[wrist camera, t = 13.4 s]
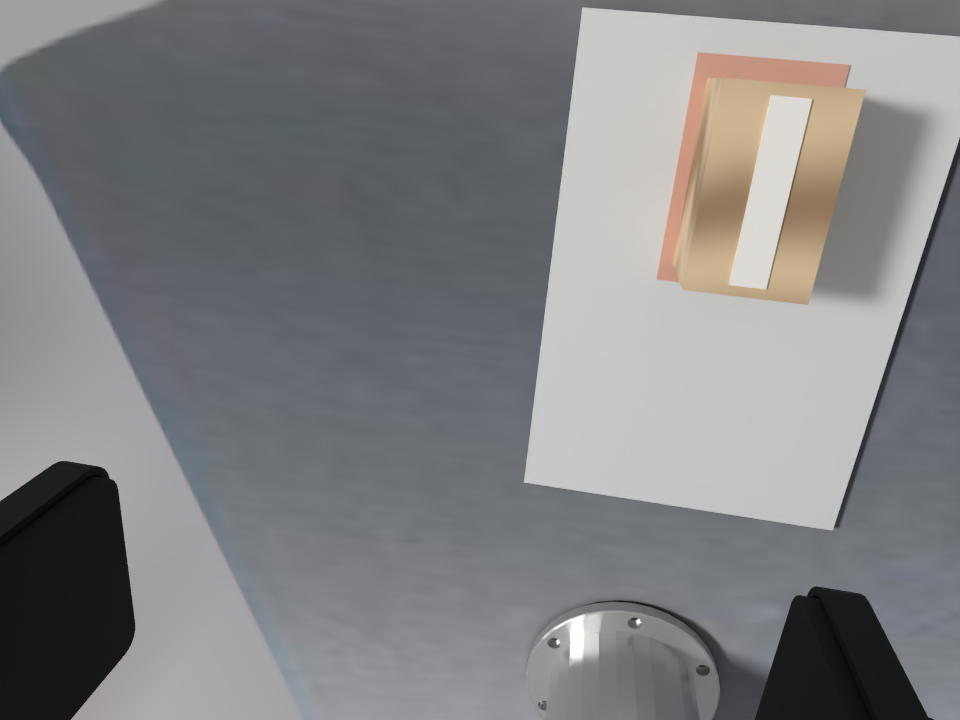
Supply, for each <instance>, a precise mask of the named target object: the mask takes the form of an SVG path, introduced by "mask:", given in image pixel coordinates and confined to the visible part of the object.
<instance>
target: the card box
mask: <svg viewBox="0 0 960 720" xmlns="http://www.w3.org/2000/svg"><path fill="white" fill-rule="evenodd" d="M865 91H866V90H862V89H850V88H838V87H827V86H815V85H803V84H792V83H780V82H768V81H756V80H745V79H733V78H708V79H707V84H706V89H705V95H704V100H703V105H702V111H701V116H700V121H699V127H698V132H697V137H696V142H695V148H694V153H693V158H692V164H691V169H690V174H689V180H688V185H687V190H686V196H685V201H684V206H683V212H682V217H681V222H680V228H679V233H678V238H677V243H676V249H675V254H674V259H673V266H674V269H675V271H676V274H677V276H678V279H679V282H680V284H681V287H682V289H683V290H688V291H696V292H704V293H712V294H721V295H729V296H737V297H746V298H754V299H762V300H771V301H779V302H787V303H796V304H804V305H808V304H809V300H810V296H811V293H812V289H813V285H814V281H815V278H816V274H817V270H818V266H819V263H820V259H821V255H822V252H823V248H824V244H825V240H826V237H827V233H828V229H829V225H830V222H831V218H832V214H833V210H834V207H835V203H836V199H837V196H838V192H839V188H840V184H841V181H842V177H843V173H844V169H845V166H846V162H847V158H848V154H849V151H850V147H851V143H852V140H853V136H854V132H855V128H856V125H857V121H858V117H859V113H860V110H861V106H862V102H863V98H864V95H865Z"/></svg>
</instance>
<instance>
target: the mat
mask: <svg viewBox="0 0 960 720" xmlns="http://www.w3.org/2000/svg"><path fill="white" fill-rule="evenodd" d="M708 78H733V79H745V80H756V81H768V82H780V83H792V84H803V85H815V86H827V87H838V88H850V89H862V90H866V91H865V95H864V98H863V102H862V106H861V110H860V113H859V117H858V121H857V125H856V128H855V132H854V136H853V140H852V143H851V147H850V151H849V154H848V158H847V162H846V166H845V169H844V173H843V177H842V181H841V184H840V188H839V192H838V196H837V199H836V203H835V207H834V210H833V214H832V218H831V222H830V225H829V229H828V233H827V237H826V240H825V244H824V248H823V252H822V255H821V259H820V263H819V266H818V270H817V274H816V278H815V281H814V285H813V289H812V293H811V296H810V300H809V304H808V305H804V304H796V303H787V302H779V301H771V300H762V299H754V298H746V297H737V296H729V295H721V294H712V293H704V292H696V291H688V290H683V289H682V287H681V284H680V282H679V279H678V276H677V274H676V271H675V269H674V266H673V259H674V254H675V249H676V243H677V238H678V233H679V228H680V222H681V217H682V212H683V206H684V201H685V196H686V190H687V185H688V180H689V174H690V169H691V164H692V158H693V153H694V148H695V142H696V137H697V132H698V127H699V121H700V116H701V111H702V105H703V100H704V95H705V89H706V84H707V79H708ZM959 138H960V37H957V36H944V35H931V34H918V33H905V32H892V31H879V30H866V29H853V28H840V27H827V26H814V25H802V24H789V23H776V22H763V21H750V20H737V19H724V18H711V17H698V16H685V15H672V14H659V13H646V12H633V11H620V10H607V9H594V8H582V16H581V24H580V32H579V41H578V49H577V57H576V65H575V73H574V81H573V89H572V97H571V106H570V114H569V122H568V130H567V138H566V146H565V154H564V163H563V171H562V179H561V187H560V195H559V203H558V211H557V219H556V228H555V236H554V244H553V252H552V260H551V268H550V276H549V284H548V293H547V301H546V309H545V317H544V325H543V333H542V341H541V350H540V358H539V366H538V374H537V382H536V390H535V398H534V406H533V415H532V423H531V431H530V439H529V447H528V455H527V463H526V472H525V480H524V482H525V483H532V484H538V485H544V486H551V487H557V488H564V489H570V490H576V491H583V492H589V493H596V494H602V495H608V496H615V497H621V498H628V499H634V500H640V501H647V502H653V503H660V504H666V505H672V506H679V507H685V508H692V509H698V510H704V511H711V512H717V513H724V514H730V515H736V516H743V517H749V518H756V519H762V520H768V521H775V522H781V523H788V524H794V525H800V526H807V527H813V528H820V529H826V530H832V531H833V528H834V525H835V522H836V519H837V516H838V513H839V510H840V506H841V503H842V500H843V497H844V494H845V491H846V488H847V485H848V482H849V479H850V476H851V472H852V469H853V466H854V463H855V460H856V457H857V454H858V451H859V448H860V445H861V442H862V438H863V435H864V432H865V429H866V426H867V423H868V420H869V417H870V414H871V411H872V408H873V404H874V401H875V398H876V395H877V392H878V389H879V386H880V383H881V380H882V377H883V374H884V370H885V367H886V364H887V361H888V358H889V355H890V352H891V349H892V346H893V343H894V339H895V336H896V333H897V330H898V327H899V324H900V321H901V318H902V315H903V312H904V309H905V305H906V302H907V299H908V296H909V293H910V290H911V287H912V284H913V281H914V278H915V275H916V271H917V268H918V265H919V262H920V259H921V256H922V253H923V250H924V247H925V244H926V241H927V237H928V234H929V231H930V228H931V225H932V222H933V219H934V216H935V213H936V210H937V206H938V203H939V200H940V197H941V194H942V191H943V188H944V185H945V182H946V179H947V176H948V172H949V169H950V166H951V163H952V160H953V157H954V154H955V151H956V148H957V145H958V142H959Z"/></svg>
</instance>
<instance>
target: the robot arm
mask: <svg viewBox="0 0 960 720" xmlns="http://www.w3.org/2000/svg"><path fill="white" fill-rule="evenodd" d="M134 633H135V619H134V612H133V604H132V596H131V588H130V580H129V572H128V564H127V556H126V548H125V541H124V533H123V525H122V517H121V509H120V502H119V493H118V488H117V484H116V483H115V481H113V480H111V479H109V476H108V473H107V472H106V470H105V469H103V468H101V467H98V466H92V465H86V464H80V463H74V462H68V461H60V462H57V463H55V464H53V465H52V466H50V467H49V468H48V469H46V470H44V471H43V472H42V473H40V474H39V475H37V476H36V477H34V478H33V479H32V480H30V481H29V482H27V483H26V484H24V485H23V486H21V487H20V488H19V489H17V490H16V491H14V492H13V493H11V494H10V495H9V496H7V497H6V498H4V499H3V500H1V501H0V720H71V719H72V717H73V716H74V715H75V714H76V713H77V711H78V710H79V709H80V708H81V707H82V705H83V704H84V703H85V702H86V701H87V699H88V698H89V697H90V696H91V695H92V693H93V692H94V691H95V690H96V688H97V687H98V686H99V685H100V684H101V682H102V681H103V680H104V679H105V678H106V676H107V675H108V674H109V673H110V672H111V671H112V669H113V668H114V667H115V666H116V664H117V663H118V662H119V661H120V660H121V658H122V657H123V656H124V655H125V653H126V652H127V650H128V649H129V647H130V645H131V643H132V640H133V637H134ZM526 683H527V691H528V694H529V697H530V699H531V702H532V704H533V706H534V708H535V709H536V711H537V713H538V714H539V716H540V717H541V718H542V719H543V720H712V719H713V717H714V715H715V712H716V710H717V708H718V705H719V698H720V684H719V676H718V672H717V668H716V664H715V660H714V658H713V656H712V654H711V652H710V650H709V648H708V647H707V645H706V644H705V643H704V642H703V641H702V639H701V638H700V637H699V636H698V634H697V633H695V632H694V631H693V630H692V629H691V628H689V627H688V626H687V625H686V624H685V623H683V622H681V621H680V620H678V619H676V618H675V617H673V616H671V615H669V614H667V613H665V612H662V611H660V610H657V609H654V608H652V607H648V606H643V605H639V604H634V603H624V602H605V603H594V604H590V605H586V606H582V607H579V608H575V609H573V610H571V611H569V612H567V613H565V614H562V615H560V616H559V617H558V618H556V619H555V620H553V621H552V622H551V623H549V624H548V625H547V626H546V627H545V628H544V629H543V630H542V631H541V633H540V634H539V635H538V636H537V638H536V640H535V642H534V643H533V645H532V647H531V650H530V654H529V657H528V661H527V671H526ZM755 720H933V719H932V718H928V716H927V714H926V712H925V710H924V708H923V707H922V705H921V703H920V701H919V699H918V697H917V695H916V693H915V691H914V689H913V687H912V685H911V683H910V681H909V679H908V677H907V675H906V673H905V671H904V669H903V667H902V666H901V664H900V662H899V660H898V658H897V656H896V654H895V652H894V650H893V648H892V646H891V644H890V642H889V640H888V638H887V636H886V634H885V632H884V630H883V628H882V627H881V625H880V623H879V621H878V619H877V617H876V615H875V613H874V611H873V609H872V607H871V605H870V603H869V601H868V600H867V599H866V597H865V596H864V595H862V594H859V593H853V592H847V591H841V590H835V589H829V588H823V587H817V586H816V587H813V588H812V589H811V590H810V591H809V593H808V595H807V597H806V596H800V595H798V596H795V598H794V599H793V601H792V603H791V606H790V609H789V613H788V616H787V619H786V622H785V625H784V629H783V632H782V635H781V638H780V641H779V644H778V648H777V651H776V654H775V657H774V660H773V664H772V667H771V670H770V673H769V676H768V680H767V683H766V686H765V689H764V692H763V695H762V699H761V702H760V705H759V708H758V711H757V715H756V718H755Z"/></svg>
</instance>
